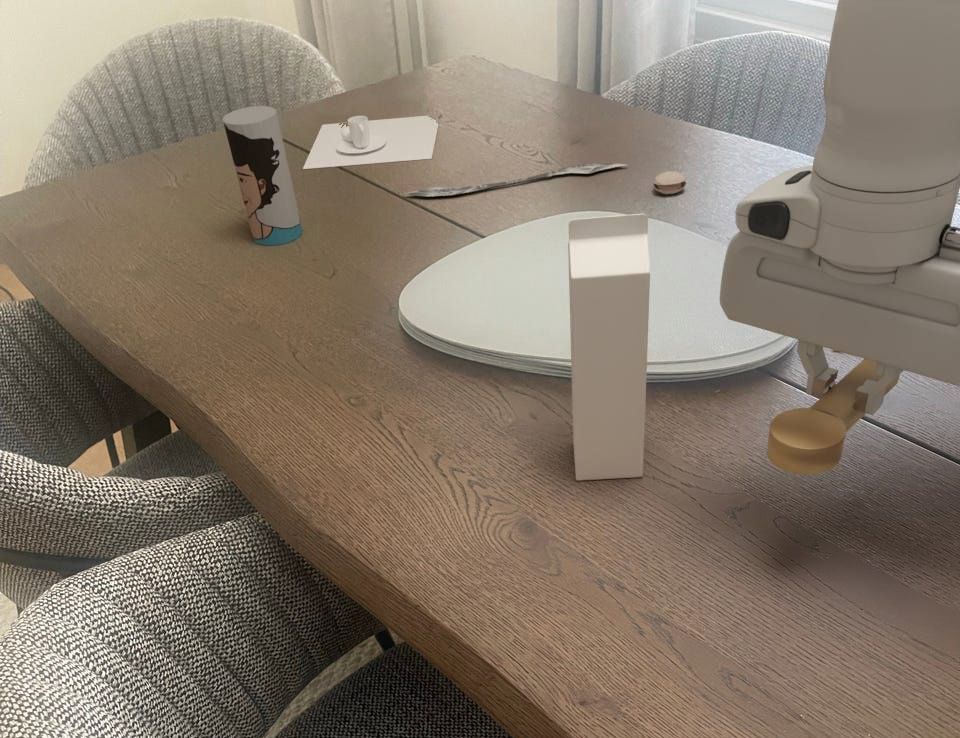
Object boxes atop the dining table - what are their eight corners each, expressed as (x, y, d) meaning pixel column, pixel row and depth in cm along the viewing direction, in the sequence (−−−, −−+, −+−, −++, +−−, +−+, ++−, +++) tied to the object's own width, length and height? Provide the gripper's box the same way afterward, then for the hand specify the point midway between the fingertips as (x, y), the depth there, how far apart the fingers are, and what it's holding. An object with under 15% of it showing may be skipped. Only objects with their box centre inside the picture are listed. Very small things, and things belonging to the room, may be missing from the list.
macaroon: (658, 199, 128) (659, 180, 126) (646, 186, 132) (647, 167, 130) (689, 194, 128) (690, 174, 127) (676, 181, 132) (677, 161, 130)
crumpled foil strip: (403, 194, 137) (408, 207, 133) (402, 190, 136) (407, 202, 133) (620, 156, 140) (631, 168, 136) (620, 152, 139) (631, 164, 136)
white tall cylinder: (270, 222, 135) (242, 104, 124) (311, 226, 132) (286, 107, 122) (243, 243, 130) (212, 123, 120) (285, 247, 128) (257, 125, 117)
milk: (573, 444, 91) (565, 203, 75) (638, 439, 90) (644, 196, 75) (575, 482, 86) (568, 235, 71) (644, 478, 86) (652, 229, 70)
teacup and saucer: (341, 138, 156) (336, 111, 153) (389, 134, 156) (385, 106, 153) (333, 158, 150) (327, 130, 147) (383, 154, 149) (379, 125, 147)
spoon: (852, 369, 77) (857, 344, 76) (915, 388, 75) (921, 362, 73) (752, 459, 70) (756, 433, 69) (818, 483, 68) (823, 457, 66)
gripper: (1068, 226, 58) (1003, 424, 68) (764, 168, 69) (746, 346, 78) (1026, 268, 55) (964, 468, 65) (715, 200, 66) (702, 381, 75)
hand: (842, 401), depth 72 cm, fingers closed on spoon, 2 cm apart
